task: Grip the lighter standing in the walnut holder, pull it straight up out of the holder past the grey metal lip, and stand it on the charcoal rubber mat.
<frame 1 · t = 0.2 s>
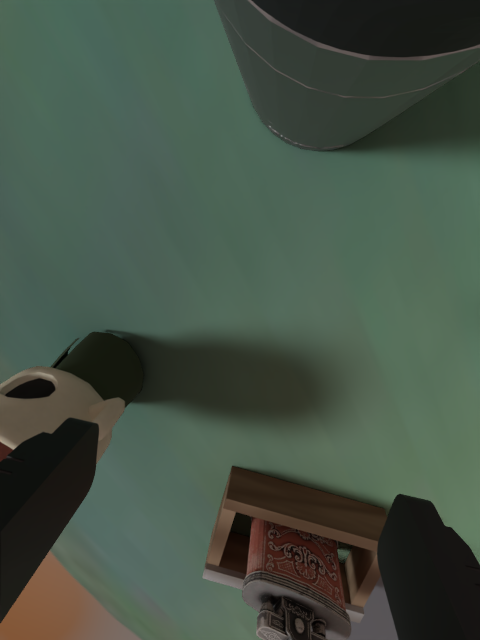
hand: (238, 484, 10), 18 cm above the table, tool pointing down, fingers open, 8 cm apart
holder: (294, 522, 33), on the table
mat: (408, 616, 35), on the table
character mug: (109, 365, 30), on the table
lighter: (293, 520, 33), resting in holder
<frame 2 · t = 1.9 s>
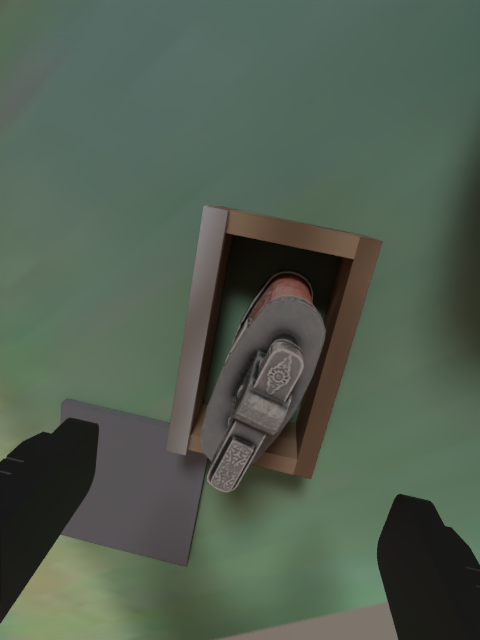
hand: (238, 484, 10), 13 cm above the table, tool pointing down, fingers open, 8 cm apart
holder: (267, 333, 22), on the table
mat: (130, 483, 27), on the table
lighter: (267, 331, 22), resting in holder
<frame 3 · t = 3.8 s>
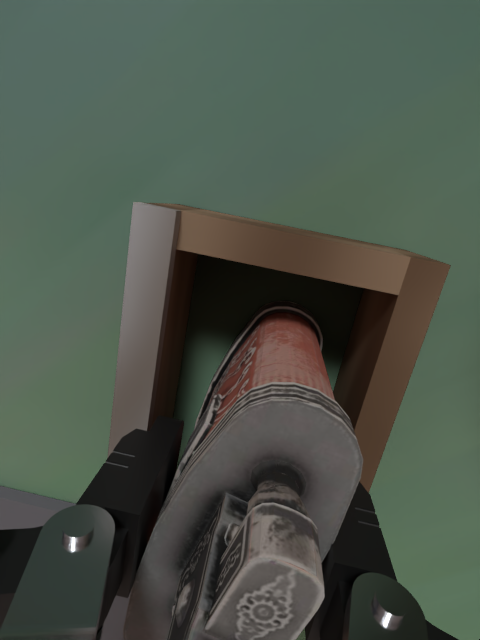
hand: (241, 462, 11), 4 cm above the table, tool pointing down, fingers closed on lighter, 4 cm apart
holder: (252, 393, 15), on the table
mat: (66, 589, 19), on the table
lighter: (252, 391, 15), resting in holder, touching gripper
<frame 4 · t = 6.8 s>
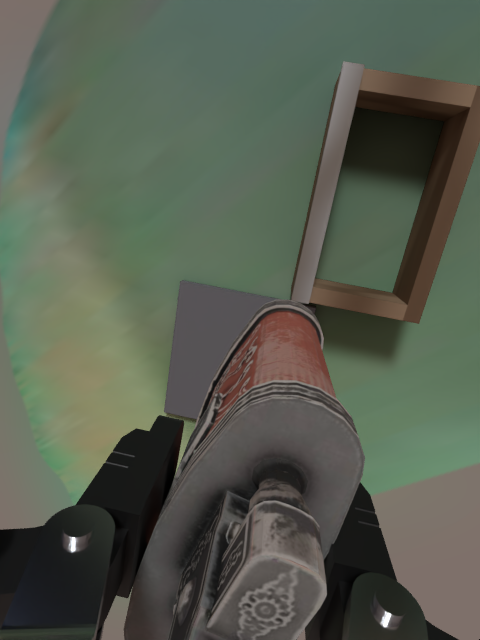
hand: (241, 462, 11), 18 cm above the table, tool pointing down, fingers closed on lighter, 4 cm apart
holder: (371, 204, 25), on the table
mat: (235, 360, 29), on the table
lighter: (253, 390, 15), point 13 cm above the table, touching gripper
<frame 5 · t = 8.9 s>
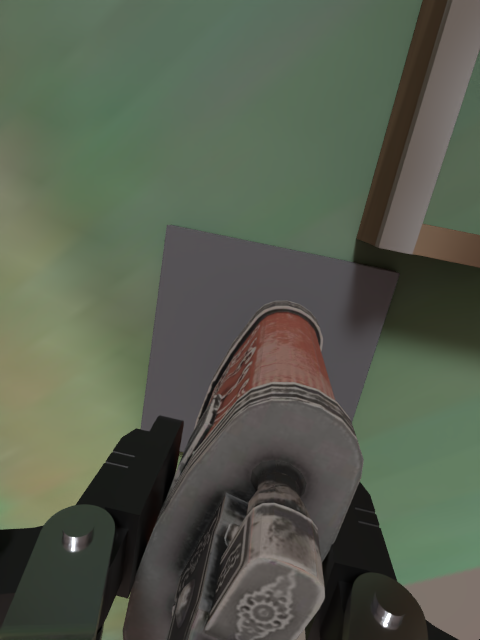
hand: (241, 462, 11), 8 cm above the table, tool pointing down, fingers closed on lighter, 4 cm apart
mat: (256, 361, 18), on the table
lighter: (253, 391, 15), point 3 cm above the table, touching gripper
when the fingers open (6 cm above the table, at t = 10.1 s): lighter stays where it is, resting on mat.
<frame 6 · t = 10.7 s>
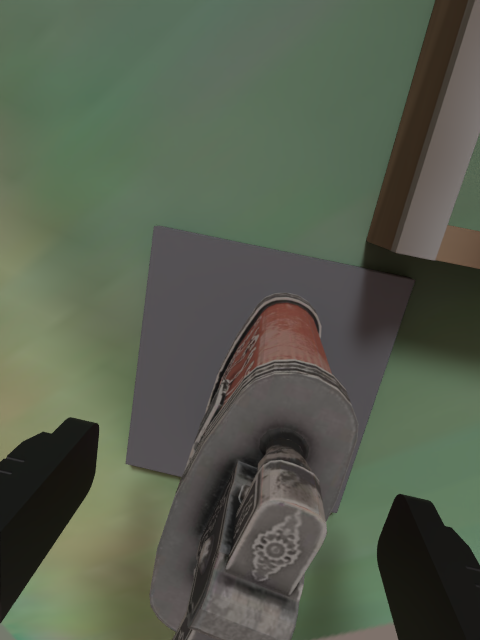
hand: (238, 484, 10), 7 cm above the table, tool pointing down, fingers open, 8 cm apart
mat: (254, 376, 16), on the table
lighter: (258, 380, 16), resting on mat
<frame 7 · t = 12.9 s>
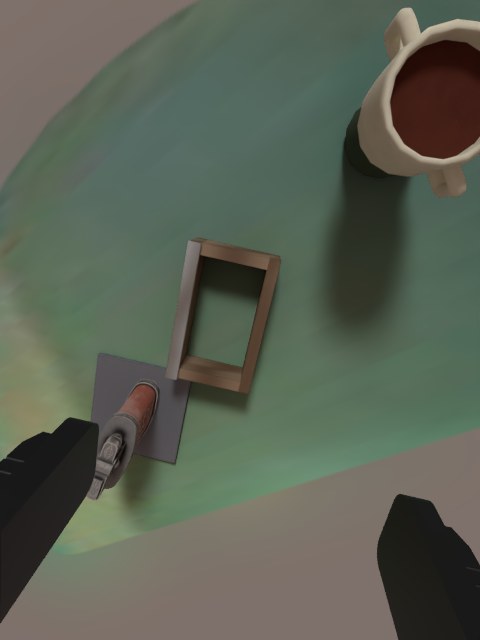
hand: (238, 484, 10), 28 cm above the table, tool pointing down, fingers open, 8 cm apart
holder: (225, 311, 38), on the table
mat: (139, 408, 42), on the table
character mug: (380, 139, 32), on the table
lighter: (139, 409, 41), resting on mat
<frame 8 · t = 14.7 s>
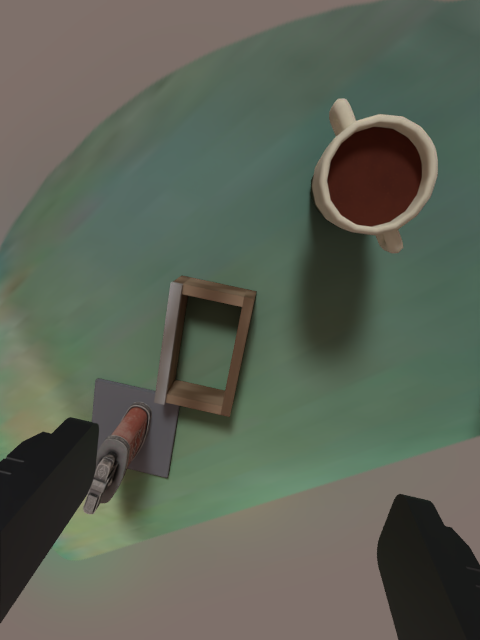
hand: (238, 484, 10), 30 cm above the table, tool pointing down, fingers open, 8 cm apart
holder: (208, 340, 41), on the table
mat: (134, 427, 45), on the table
character mug: (343, 187, 36), on the table
lighter: (134, 429, 45), resting on mat
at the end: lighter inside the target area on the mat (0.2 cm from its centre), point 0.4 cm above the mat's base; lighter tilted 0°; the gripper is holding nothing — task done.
